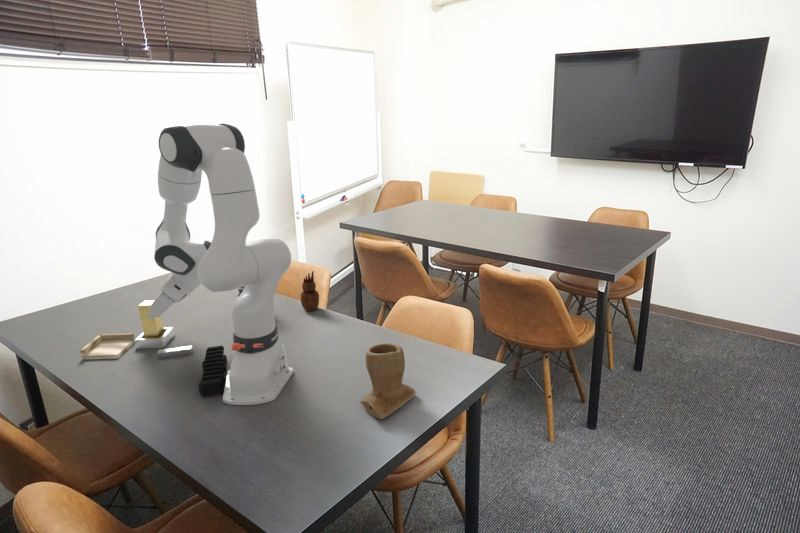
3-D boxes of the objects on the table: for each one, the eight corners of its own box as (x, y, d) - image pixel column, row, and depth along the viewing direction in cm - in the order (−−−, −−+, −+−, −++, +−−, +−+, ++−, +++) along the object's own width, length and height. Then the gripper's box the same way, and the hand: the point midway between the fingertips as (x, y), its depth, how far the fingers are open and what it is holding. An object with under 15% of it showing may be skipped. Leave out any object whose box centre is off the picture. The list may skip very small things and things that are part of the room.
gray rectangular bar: (193, 350, 155) (192, 345, 155) (192, 354, 153) (191, 348, 152) (159, 355, 153) (158, 350, 152) (157, 359, 150) (156, 353, 150)
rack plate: (118, 358, 151) (116, 349, 150) (82, 359, 151) (80, 350, 150) (135, 341, 161) (133, 333, 160) (101, 342, 161) (99, 334, 160)
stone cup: (387, 381, 135) (386, 333, 130) (421, 396, 128) (421, 346, 123) (348, 407, 124) (345, 355, 119) (383, 425, 117) (381, 370, 112)
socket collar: (163, 347, 157) (162, 339, 156) (136, 348, 157) (134, 340, 156) (174, 335, 165) (173, 327, 164) (148, 336, 165) (147, 328, 164)
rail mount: (204, 363, 148) (202, 348, 146) (227, 359, 149) (224, 345, 148) (198, 401, 128) (195, 385, 127) (224, 397, 130) (222, 381, 128)
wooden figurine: (321, 306, 186) (318, 269, 182) (317, 312, 181) (314, 274, 176) (304, 305, 187) (301, 269, 182) (299, 312, 182) (296, 274, 177)
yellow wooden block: (159, 344, 159) (152, 305, 155) (146, 345, 159) (138, 305, 154) (165, 338, 163) (158, 300, 159) (152, 338, 163) (144, 300, 159)
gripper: (186, 265, 164) (162, 293, 167) (160, 288, 145) (133, 318, 148) (202, 277, 166) (177, 304, 169) (178, 301, 146) (151, 331, 149)
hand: (156, 311), depth 158 cm, fingers open, 8 cm apart
